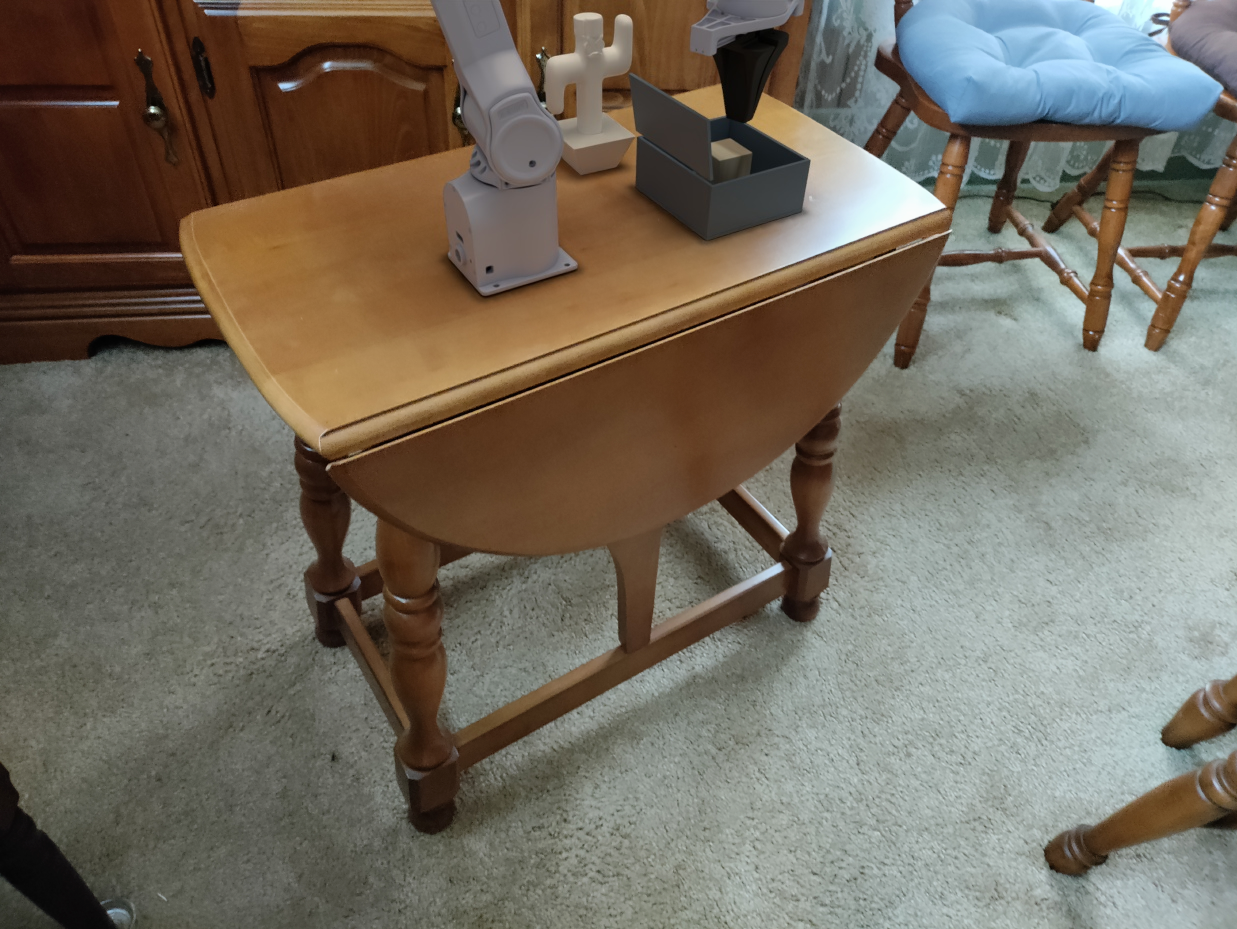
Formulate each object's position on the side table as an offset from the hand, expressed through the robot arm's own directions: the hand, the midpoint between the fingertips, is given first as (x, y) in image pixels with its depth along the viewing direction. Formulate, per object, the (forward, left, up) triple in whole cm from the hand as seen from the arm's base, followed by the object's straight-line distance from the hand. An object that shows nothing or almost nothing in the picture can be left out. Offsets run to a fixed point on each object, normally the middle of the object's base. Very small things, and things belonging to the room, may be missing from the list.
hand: (739, 118), depth 77 cm
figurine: (-5, +18, -11) cm, 22 cm away
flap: (-4, +5, -2) cm, 6 cm away
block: (+6, +6, -8) cm, 12 cm away
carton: (+2, +5, -10) cm, 12 cm away
